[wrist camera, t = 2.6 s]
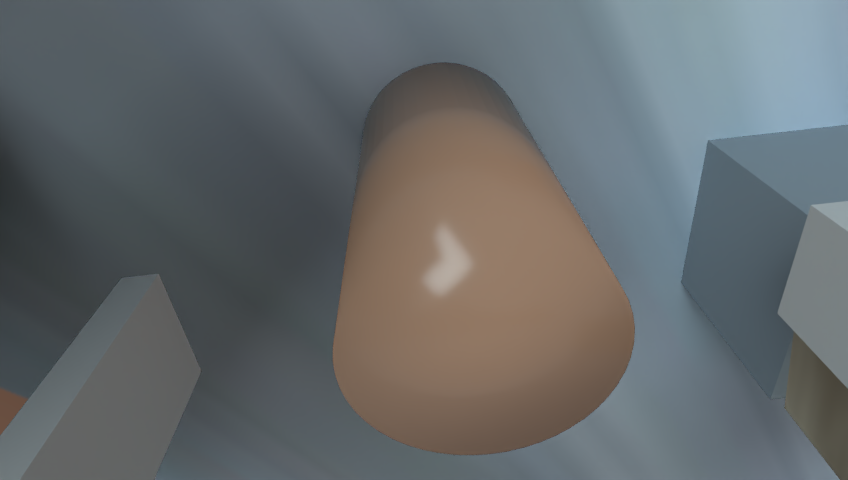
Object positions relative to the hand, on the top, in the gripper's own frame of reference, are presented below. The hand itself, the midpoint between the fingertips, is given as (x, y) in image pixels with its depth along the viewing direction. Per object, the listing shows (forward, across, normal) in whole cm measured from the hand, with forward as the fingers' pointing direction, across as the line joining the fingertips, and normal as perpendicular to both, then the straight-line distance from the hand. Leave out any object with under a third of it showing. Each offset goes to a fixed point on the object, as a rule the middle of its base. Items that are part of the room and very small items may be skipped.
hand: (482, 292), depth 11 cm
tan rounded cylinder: (+8, 0, 0) cm, 8 cm away
